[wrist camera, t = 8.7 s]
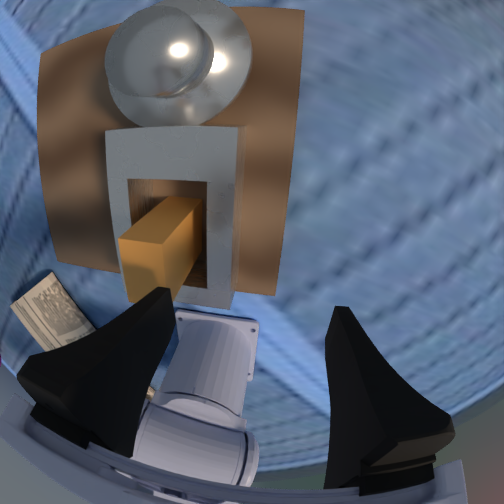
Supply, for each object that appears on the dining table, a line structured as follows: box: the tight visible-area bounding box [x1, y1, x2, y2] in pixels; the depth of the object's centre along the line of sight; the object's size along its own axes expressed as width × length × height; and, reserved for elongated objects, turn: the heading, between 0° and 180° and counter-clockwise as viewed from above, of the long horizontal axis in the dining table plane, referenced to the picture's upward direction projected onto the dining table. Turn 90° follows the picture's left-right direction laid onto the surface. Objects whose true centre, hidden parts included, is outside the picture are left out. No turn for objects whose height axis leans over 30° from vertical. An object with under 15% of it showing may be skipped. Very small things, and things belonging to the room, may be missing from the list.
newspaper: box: [10, 272, 155, 402], centre depth 35 cm, size 37×19×3 cm, turn 26°
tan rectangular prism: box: [118, 196, 203, 303], centre depth 16 cm, size 4×2×7 cm, turn 175°
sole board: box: [37, 7, 305, 296], centre depth 18 cm, size 21×22×2 cm
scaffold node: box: [105, 0, 253, 310], centre depth 14 cm, size 20×9×6 cm, turn 176°
